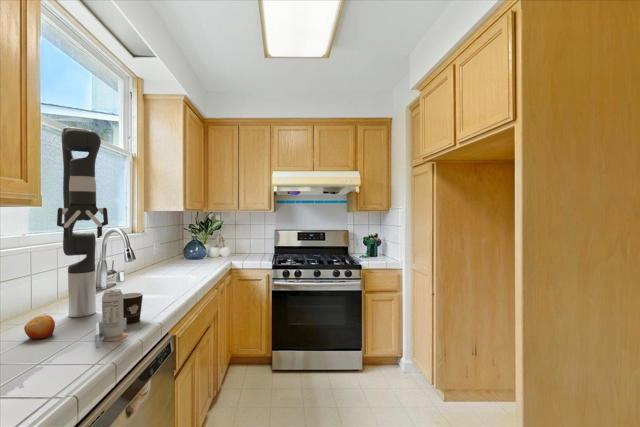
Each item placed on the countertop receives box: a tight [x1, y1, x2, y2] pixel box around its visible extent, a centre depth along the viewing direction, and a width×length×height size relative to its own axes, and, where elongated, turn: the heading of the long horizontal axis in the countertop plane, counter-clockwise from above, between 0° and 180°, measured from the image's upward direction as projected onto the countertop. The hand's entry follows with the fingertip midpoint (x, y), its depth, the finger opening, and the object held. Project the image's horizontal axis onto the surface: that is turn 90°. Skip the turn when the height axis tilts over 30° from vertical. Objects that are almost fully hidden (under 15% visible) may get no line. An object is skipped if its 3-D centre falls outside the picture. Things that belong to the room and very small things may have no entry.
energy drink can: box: [101, 289, 125, 339], centre depth 117 cm, size 6×6×15 cm
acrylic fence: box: [95, 318, 127, 349], centre depth 117 cm, size 14×9×4 cm, turn 32°
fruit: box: [23, 314, 56, 340], centre depth 118 cm, size 8×8×8 cm
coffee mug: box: [122, 292, 144, 326], centre depth 133 cm, size 12×9×10 cm
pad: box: [102, 332, 129, 342], centre depth 117 cm, size 7×7×1 cm
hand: (83, 238), depth 119 cm, fingers open, 8 cm apart
